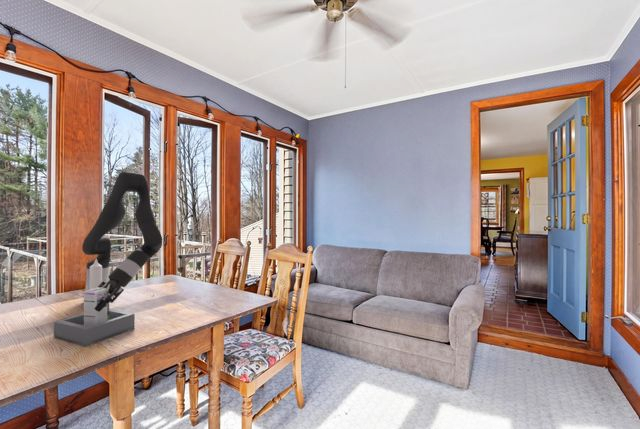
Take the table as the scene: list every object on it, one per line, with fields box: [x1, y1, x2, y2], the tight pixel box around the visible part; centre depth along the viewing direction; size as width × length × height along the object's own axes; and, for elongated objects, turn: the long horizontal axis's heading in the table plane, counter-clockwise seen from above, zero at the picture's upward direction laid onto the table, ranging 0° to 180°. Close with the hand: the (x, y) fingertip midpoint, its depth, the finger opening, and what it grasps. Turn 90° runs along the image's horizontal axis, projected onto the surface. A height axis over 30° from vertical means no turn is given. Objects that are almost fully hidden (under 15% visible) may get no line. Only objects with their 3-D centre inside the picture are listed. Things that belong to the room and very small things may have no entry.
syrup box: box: [83, 287, 110, 327], centre depth 117 cm, size 6×6×14 cm
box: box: [53, 307, 136, 348], centre depth 117 cm, size 18×18×6 cm
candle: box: [89, 258, 102, 290], centre depth 136 cm, size 7×7×25 cm
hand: (91, 308), depth 115 cm, fingers closed on syrup box, 7 cm apart
